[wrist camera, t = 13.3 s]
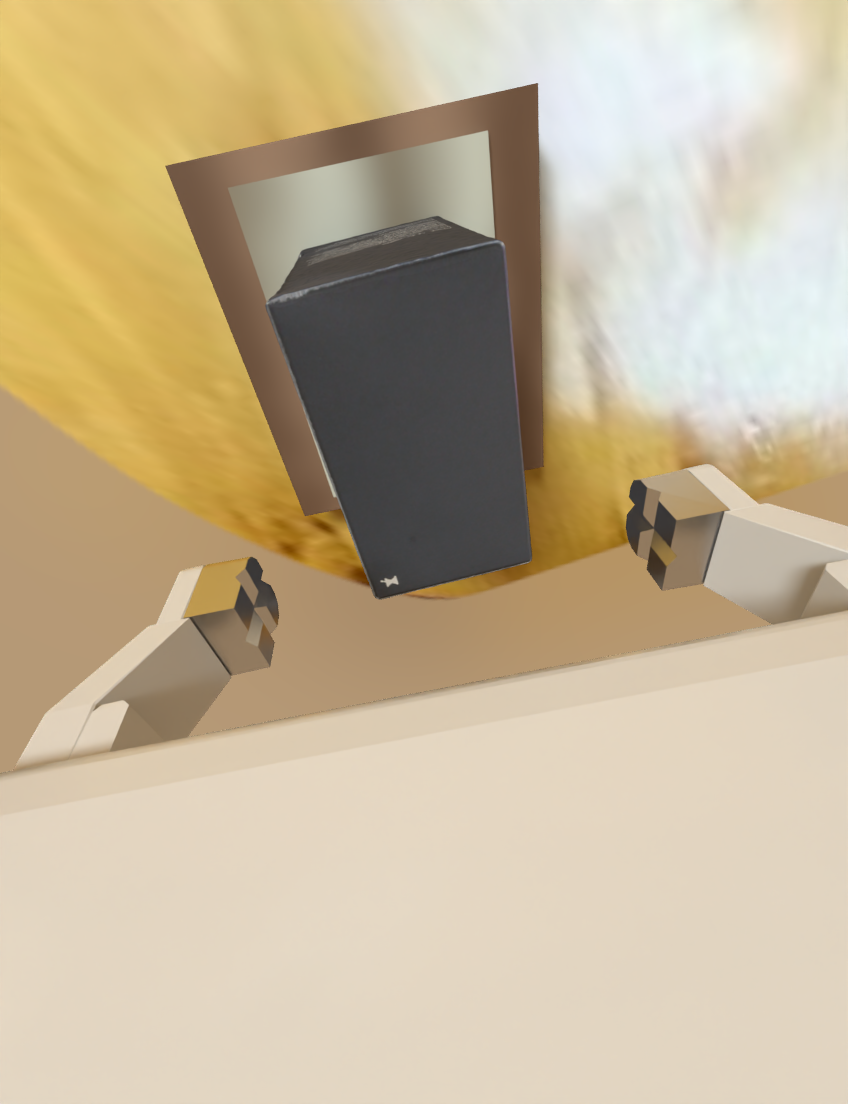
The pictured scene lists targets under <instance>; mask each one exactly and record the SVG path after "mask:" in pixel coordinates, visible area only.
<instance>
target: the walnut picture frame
mask: <svg viewBox="0 0 848 1104" xmlns="http://www.w3.org/2000/svg"><path fill="white" fill-rule="evenodd" d="M166 169H167V171H168V174H169V176H170V179H171V181H172V184H173V186H174V189H175V191H176V194H177V196H178V199H179V201H180V204H181V206H182V209H183V211H184V214H185V216H186V219H187V221H188V224H189V226H190V229H191V232H192V234H193V237H194V239H195V242H196V244H197V247H198V249H199V252H200V254H201V257H202V259H203V262H204V264H205V267H206V269H207V272H208V274H209V277H210V279H211V282H212V284H213V287H214V289H215V292H216V294H217V297H218V299H219V302H220V304H221V307H222V309H223V312H224V314H225V317H226V319H227V322H228V324H229V327H230V329H231V332H232V334H233V337H234V339H235V342H236V344H237V347H238V349H239V352H240V354H241V357H242V359H243V362H244V364H245V367H246V369H247V372H248V374H249V377H250V379H251V382H252V385H253V387H254V390H255V392H256V395H257V397H258V400H259V402H260V405H261V407H262V410H263V412H264V415H265V417H266V420H267V422H268V425H269V427H270V430H271V432H272V435H273V437H274V440H275V442H276V445H277V447H278V450H279V452H280V455H281V457H282V460H283V462H284V465H285V467H286V470H287V472H288V475H289V477H290V480H291V482H292V485H293V487H294V490H295V492H296V495H297V497H298V500H299V502H300V505H301V507H302V510H303V512H304V515H305V516H308V515H313V514H318V513H323V512H327V511H332V510H337V509H341V507H340V505H339V502H338V499H337V496H336V494H335V492H334V489H333V487H332V484H331V481H330V479H329V476H328V473H327V471H326V468H325V466H324V463H323V460H322V457H321V455H320V452H319V449H318V446H317V444H316V441H315V439H314V436H313V433H312V430H311V428H310V425H309V423H308V420H307V418H306V414H305V411H304V408H303V406H302V404H301V401H300V399H299V396H298V394H297V391H296V388H295V386H294V383H293V380H292V378H291V375H290V372H289V369H288V367H287V364H286V361H285V359H284V356H283V353H282V351H281V348H280V345H279V343H278V340H277V337H276V335H275V332H274V329H273V326H272V324H271V321H270V318H269V316H268V313H267V311H266V307H265V305H266V302H267V301H268V299H270V298H271V297H272V296H274V295H275V293H276V292H277V291H279V289H280V288H281V285H282V284H283V283H284V281H285V278H286V277H287V276H288V274H289V273H290V271H291V269H292V267H294V264H295V262H296V261H297V259H298V256H299V254H300V252H301V251H302V250H304V249H307V248H312V247H315V246H319V245H323V244H327V243H330V242H334V241H339V240H343V239H347V238H350V237H354V236H358V235H362V234H366V233H370V232H374V231H377V230H381V229H385V228H389V227H393V226H397V225H400V224H404V223H409V222H413V221H418V220H420V219H426V218H429V217H434V216H440V217H442V218H443V219H445V220H448V221H450V222H453V223H455V224H457V225H460V226H462V227H464V228H467V229H469V230H472V231H475V232H477V233H480V234H483V235H485V236H487V237H492V238H495V239H498V240H500V241H502V242H503V243H504V245H505V247H506V257H507V270H508V281H509V294H510V308H511V321H512V333H513V345H514V357H515V369H516V381H517V393H518V405H519V416H520V428H521V440H522V451H523V462H524V471H525V470H529V469H534V468H539V467H544V465H543V399H542V332H541V266H540V200H539V133H538V83H536V84H532V85H527V86H523V87H518V88H514V89H509V90H505V91H500V92H496V93H491V94H487V95H482V96H478V97H473V98H469V99H464V100H460V101H455V102H451V103H446V104H442V105H437V106H433V107H428V108H424V109H419V110H415V111H410V112H406V113H401V114H397V115H392V116H388V117H383V118H379V119H374V120H370V121H365V122H361V123H356V124H352V125H347V126H343V127H338V128H334V129H329V130H325V131H320V132H316V133H311V134H307V135H302V136H298V137H293V138H289V139H284V140H280V141H275V142H271V143H266V144H262V145H257V146H253V147H248V148H244V149H239V150H235V151H230V152H226V153H221V154H217V155H212V156H208V157H204V158H199V159H195V160H190V161H186V162H181V163H177V164H172V165H168V166H166Z"/></svg>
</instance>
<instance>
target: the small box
mask: <svg viewBox="0 0 848 1104" xmlns="http://www.w3.org/2000/svg"><path fill="white" fill-rule="evenodd" d="M265 307H266V311H267V313H268V316H269V318H270V321H271V324H272V326H273V329H274V332H275V335H276V337H277V340H278V343H279V345H280V348H281V351H282V353H283V356H284V359H285V361H286V364H287V367H288V369H289V372H290V375H291V378H292V380H293V383H294V386H295V388H296V391H297V394H298V396H299V399H300V401H301V404H302V406H303V408H304V411H305V414H306V418H307V420H308V423H309V425H310V428H311V430H312V433H313V436H314V439H315V441H316V444H317V446H318V449H319V452H320V455H321V457H322V460H323V463H324V466H325V468H326V471H327V473H328V476H329V479H330V481H331V484H332V487H333V489H334V492H335V494H336V496H337V499H338V502H339V505H340V507H341V510H342V512H343V515H344V517H345V520H346V523H347V526H348V529H349V531H350V534H351V536H352V539H353V542H354V545H355V547H356V550H357V553H358V555H359V558H360V560H361V563H362V566H363V568H364V571H365V574H366V575H367V579H368V581H369V584H370V586H371V589H372V592H373V594H374V596H375V598H377V599H381V600H382V599H386V598H390V597H393V596H396V595H402V594H405V593H409V592H413V591H416V590H421V589H425V588H429V587H434V586H437V585H441V584H445V583H450V582H454V581H458V580H462V579H466V578H469V577H474V576H477V575H483V574H486V573H491V572H494V571H498V570H503V569H506V568H510V567H514V566H518V565H521V564H526V563H529V562H530V561H531V560H532V550H531V539H530V529H529V518H528V507H527V496H526V485H525V474H524V462H523V451H522V440H521V428H520V416H519V405H518V393H517V381H516V369H515V357H514V345H513V333H512V321H511V308H510V294H509V281H508V270H507V257H506V247H505V245H504V243H503V242H502V241H500V240H498V239H495V238H492V237H487V236H485V235H483V234H480V233H477V232H475V231H472V230H469V229H467V228H464V227H462V226H460V225H457V224H455V223H453V222H450V221H448V220H445V219H443V218H442V217H440V216H434V217H429V218H426V219H420V220H418V221H413V222H409V223H404V224H400V225H397V226H393V227H389V228H385V229H381V230H377V231H374V232H370V233H366V234H362V235H358V236H354V237H350V238H347V239H343V240H339V241H334V242H330V243H327V244H323V245H319V246H315V247H312V248H307V249H304V250H302V251H301V252H300V254H299V256H298V259H297V261H296V262H295V264H294V267H292V269H291V271H290V273H289V274H288V276H287V277H286V278H285V281H284V283H283V284H282V285H281V288H280V289H279V291H277V292H276V293H275V295H274V296H272V297H271V298H270V299H268V301H267V302H266V305H265Z"/></svg>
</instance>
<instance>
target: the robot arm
mask: <svg viewBox="0 0 848 1104" xmlns="http://www.w3.org/2000/svg"><path fill="white" fill-rule="evenodd" d="M629 498H630V499H631V500H632V501H633V503H634V504H635V505H634V507H633V508H632V509H631V510H630V512H629V513H628V514H627V521H626V530H627V536H628V540H629V543H630V545H631V547H632V549H633V550H634V552H635V553H636V555H637V556H639V557H641V558H643V559H646V560H648V564H647V570H648V572H649V573H650V575H651V576H652V577H653V579H654V580H655V581H656V583H657V584H658V586H659V587H660V589H661V590H669V589H674V588H681V587H687V586H692V585H698V584H704V586H705V587H707V588H709V589H711V590H712V591H714V592H716V593H718V594H720V595H721V596H723V597H725V598H727V599H728V600H730V601H732V602H734V603H736V604H737V605H739V606H741V607H743V608H744V609H746V610H748V611H750V612H752V613H753V614H755V615H757V616H759V617H760V618H762V619H764V620H766V621H767V622H769V623H771V624H773V625H769V626H763V627H758V628H753V629H749V630H743V631H738V632H732V633H727V634H722V635H717V636H712V637H707V638H702V639H696V640H692V641H686V642H681V643H676V644H670V645H665V646H660V647H655V648H650V649H644V650H639V651H634V652H628V653H623V654H618V655H613V656H607V657H603V658H597V659H592V660H587V661H581V662H576V663H571V664H565V665H560V666H555V667H550V668H545V669H539V670H534V671H529V672H523V673H518V674H513V675H508V676H503V677H498V678H492V679H487V680H482V681H477V682H472V683H466V684H462V685H456V686H451V687H446V688H440V689H436V690H430V691H425V692H420V693H415V694H409V695H404V696H399V697H394V698H389V699H383V700H379V701H373V702H368V703H363V704H357V705H352V706H347V707H342V708H336V709H331V710H326V711H321V712H316V713H310V714H305V715H300V716H295V717H290V718H284V719H279V720H274V721H269V722H264V723H259V724H253V725H248V726H243V727H237V728H232V729H228V730H222V731H217V732H212V733H206V734H202V735H196V736H191V737H188V736H189V734H190V733H191V731H192V730H193V729H194V727H195V726H196V725H197V723H198V722H199V721H200V719H201V718H202V717H203V715H204V714H205V713H206V711H207V710H208V709H209V707H210V706H211V705H212V703H213V702H214V701H215V699H216V698H217V696H218V695H219V694H220V693H221V691H222V690H223V688H224V687H225V686H226V684H227V683H228V682H229V680H230V679H231V676H232V675H236V674H241V673H245V672H250V671H254V670H259V669H263V668H268V667H270V665H271V659H272V654H273V648H274V640H273V639H272V637H271V635H270V634H271V633H272V632H273V631H274V630H275V628H276V627H277V625H278V619H279V612H278V603H277V599H276V596H275V593H274V591H273V589H272V587H271V586H270V585H269V584H267V583H265V582H263V581H262V580H261V576H262V572H263V570H262V568H261V566H260V565H259V563H258V561H257V560H256V559H255V558H253V557H247V558H242V559H236V560H231V561H225V562H219V563H214V564H208V565H203V566H198V567H193V568H188V569H184V570H183V571H181V572H179V574H178V577H177V579H176V581H175V584H174V586H173V588H172V590H171V592H170V594H169V597H168V599H167V601H166V603H165V606H164V608H163V610H162V612H161V615H160V617H159V619H158V621H157V624H155V625H151V626H148V627H147V628H146V629H145V630H143V631H142V632H141V633H140V634H139V635H138V636H136V637H135V638H134V639H133V640H132V641H130V643H128V644H127V645H126V646H125V647H124V648H122V649H121V650H120V651H119V652H118V653H116V654H115V655H114V656H113V657H112V658H110V659H109V660H108V661H107V662H106V663H104V664H103V665H102V666H101V667H100V668H99V669H97V670H96V671H95V672H94V673H93V674H92V675H90V676H89V677H88V678H87V679H86V680H84V682H82V683H81V684H80V685H79V686H77V687H76V688H75V689H74V690H73V691H72V692H70V693H69V694H68V695H67V696H66V697H65V698H63V699H62V700H61V701H60V702H59V703H57V704H56V705H55V706H54V707H53V708H51V709H50V710H49V711H48V712H47V713H46V714H45V715H44V717H43V719H42V720H41V722H40V724H39V726H38V728H37V729H36V731H35V733H34V734H33V736H32V738H31V740H30V741H29V743H28V745H27V747H26V749H25V750H24V752H23V754H22V755H21V757H20V759H19V761H18V762H17V764H16V766H15V768H14V769H13V771H8V772H3V773H0V1104H848V526H844V525H841V524H837V523H834V522H830V521H827V520H824V519H820V518H817V517H813V516H810V515H806V514H803V513H799V512H796V511H792V510H789V509H785V508H782V507H779V506H775V505H772V504H768V503H766V504H760V505H759V504H758V503H757V502H755V501H754V500H753V499H752V498H751V497H750V496H748V495H747V494H746V493H745V492H744V491H742V490H741V489H740V488H739V487H738V486H737V485H735V484H734V483H733V482H732V481H731V480H729V479H728V478H727V477H726V476H725V475H724V474H722V473H721V472H720V471H719V470H718V469H716V468H715V467H714V466H712V465H708V464H704V465H700V466H695V467H691V468H687V469H682V470H681V471H676V472H671V473H667V474H662V475H657V476H652V477H648V478H643V479H638V480H634V481H633V483H632V485H631V488H630V495H629Z"/></svg>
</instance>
